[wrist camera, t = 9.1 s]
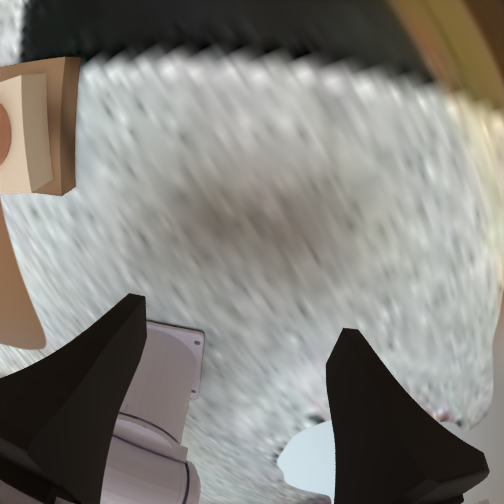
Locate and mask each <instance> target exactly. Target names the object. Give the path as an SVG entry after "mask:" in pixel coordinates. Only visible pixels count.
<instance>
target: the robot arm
mask: <svg viewBox="0 0 504 504" xmlns="http://www.w3.org/2000/svg"><path fill="white" fill-rule="evenodd" d="M197 341H199V342H197ZM203 345H204V334H203V333H201V332H199V331H193V330H188V329H183V328H177V327H172V326H167V325H162V324H157V323H153V322H148V321H146V302H145V296H140V295H136V294H131V293H129V294H128V295H127V296H125V297H124V298H123V299H122V300H121V301H120V302H118V303H117V304H116V305H115V306H114V307H113V308H112V309H110V310H109V311H108V312H107V313H106V314H105V315H104V316H102V317H101V318H100V319H99V320H97V321H96V322H95V323H94V324H93V325H91V326H90V327H89V328H88V329H86V330H85V331H84V332H82V333H81V334H80V335H79V336H77V337H76V338H75V339H73V340H72V341H70V342H69V343H68V344H66V345H65V346H63V347H62V348H60V349H59V350H57V351H55V352H54V353H52V354H51V355H49V356H47V357H45V358H44V359H42V360H40V361H38V362H36V363H34V364H32V365H30V366H28V367H26V368H24V369H22V370H20V371H17V372H15V373H13V374H10V375H8V376H5V377H2V378H0V504H198V502H199V497H200V478H199V475H198V473H197V470H196V468H195V466H194V464H193V463H192V462H190V461H187V460H186V457H187V451H188V448H186V447H184V446H181V445H180V444H181V439H182V434H183V429H184V424H185V419H186V414H187V409H188V404H189V399H194V400H195V399H198V396H199V385H200V375H201V364H202V354H203ZM326 387H327V394H328V401H329V407H330V413H331V419H332V426H333V432H334V438H335V456H336V457H335V459H336V476H335V477H336V478H335V497H334V504H461V503H463V501H464V498H463V493H465V492H467V491H468V490H469V489H471V488H473V487H474V486H475V485H477V484H479V483H480V482H481V481H483V480H484V479H485V478H486V477H487V476H488V474H489V472H490V471H489V468H488V465H487V462H486V459H485V456H484V453H483V452H481V451H479V450H478V449H476V448H474V447H473V446H471V445H469V444H467V443H465V442H464V441H463V440H461V439H460V438H458V437H457V436H455V435H454V434H452V433H451V432H450V431H448V430H447V429H446V428H444V427H443V426H442V425H441V424H439V423H438V422H437V421H436V420H435V419H433V418H432V417H431V416H430V415H429V414H428V413H427V412H426V411H425V410H423V409H422V408H421V407H420V406H419V405H418V404H417V402H416V401H415V400H414V399H413V398H412V397H411V396H410V395H409V394H408V393H407V392H406V391H405V390H404V388H403V387H402V386H401V385H400V384H399V383H398V381H397V380H396V379H395V378H394V376H393V375H392V374H391V373H390V371H389V370H388V369H387V368H386V366H385V365H384V364H383V362H382V361H381V360H380V358H379V357H378V356H377V354H376V353H375V351H374V350H373V349H372V347H371V346H370V345H369V343H368V342H367V340H366V339H365V338H364V336H363V335H362V334H361V333H360V331H359V330H358V329H349V328H343V329H342V332H341V334H340V336H339V338H338V340H337V342H336V344H335V346H334V349H333V351H332V353H331V355H330V357H329V359H328V361H327V363H326ZM476 504H489V501H488V500H487V499H485V500H483V501H481V502H478V503H476Z"/></svg>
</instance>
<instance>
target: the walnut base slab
mask: <svg viewBox="0 0 504 504" xmlns="http://www.w3.org/2000/svg"><path fill="white" fill-rule="evenodd" d="M80 62H81V57H60V58H52V59H45V60H38V61H32V62H26V63H20V64H15V65H10V66H5V67H0V82H2V81H5V80H8V79H11V78H14V77H17V76H20V75H28V74H40V73H46V88H47V117H48V132H49V144H50V154H51V163H52V171H53V180H51V181H50V182H48V183H46V184H45V185H43V186H41V187H40V188H38V189H36V190H35V191H33V192H31V193H40V194H48V195H56V196H63V195H64V194H66V193H67V192H69V191H70V190H72V189H73V188H75V187H76V184H75V126H76V106H77V92H78V81H79V71H80Z"/></svg>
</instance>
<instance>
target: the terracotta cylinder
mask: <svg viewBox="0 0 504 504" xmlns="http://www.w3.org/2000/svg"><path fill="white" fill-rule="evenodd" d="M10 136H11V130H10V122H9V118H8V114H7V112H6V110H5V108H4V107H3V106H2V104H0V164H1V163H2V162H3V160H4V159H5V157H6V155H7V152H8V149H9V145H10Z"/></svg>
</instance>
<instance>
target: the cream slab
mask: <svg viewBox="0 0 504 504" xmlns="http://www.w3.org/2000/svg"><path fill="white" fill-rule="evenodd" d="M0 104H2V106H3V107H4V108H5V110H6V112H7V114H8V118H9V122H10V130H11V136H10V145H9V149H8V152H7V155H6V157H5V159H4V160H3V162H2V163H1V164H0V194H10V193H31V192H33V191H35V190H36V189H38V188H40V187H41V186H43V185H45V184H46V183H48V182H50V181H51V180H53V171H52V163H51V154H50V144H49V132H48V117H47V88H46V73H40V74H28V75H20V76H17V77H14V78H11V79H8V80H5V81H2V82H0Z"/></svg>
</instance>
